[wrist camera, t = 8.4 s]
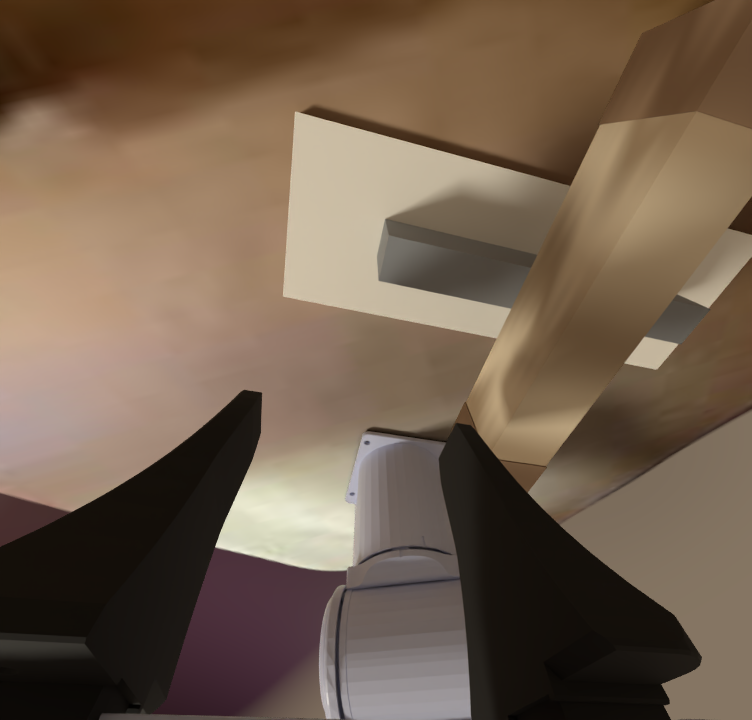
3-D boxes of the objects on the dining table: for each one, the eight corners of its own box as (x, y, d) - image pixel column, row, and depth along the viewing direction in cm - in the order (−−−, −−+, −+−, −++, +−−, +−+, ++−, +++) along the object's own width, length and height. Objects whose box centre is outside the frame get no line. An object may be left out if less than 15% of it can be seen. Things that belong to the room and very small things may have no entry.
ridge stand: (648, 363, 23) (710, 409, 19) (285, 291, 20) (263, 328, 16) (751, 235, 18) (865, 259, 14) (298, 113, 15) (270, 96, 11)
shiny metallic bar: (641, 33, 10) (781, -30, 7) (723, 61, 11) (894, 15, 7) (450, 431, 20) (468, 489, 16) (497, 438, 20) (523, 497, 17)
